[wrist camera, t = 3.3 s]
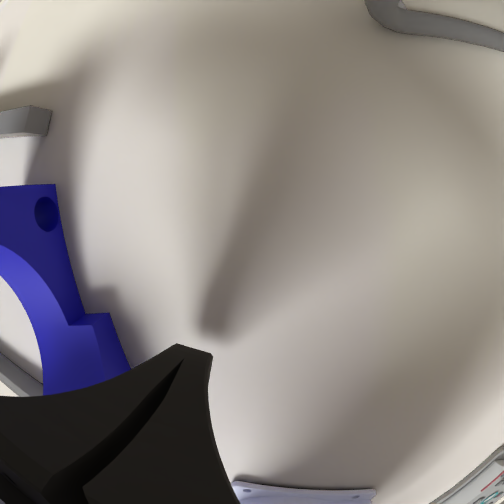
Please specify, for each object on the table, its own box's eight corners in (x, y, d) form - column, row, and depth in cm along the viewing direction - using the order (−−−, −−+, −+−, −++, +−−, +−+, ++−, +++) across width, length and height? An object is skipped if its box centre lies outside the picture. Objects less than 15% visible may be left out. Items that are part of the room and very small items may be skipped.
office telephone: (361, 552, 13) (525, 438, 8) (360, 535, 15) (511, 419, 11) (466, 530, 12) (567, 439, 8) (462, 519, 15) (559, 429, 10)
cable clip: (155, 415, 12) (106, 501, 6) (92, 406, 12) (40, 470, 7) (80, 173, 10) (-40, 175, 4) (23, 201, 10) (-71, 217, 4)
